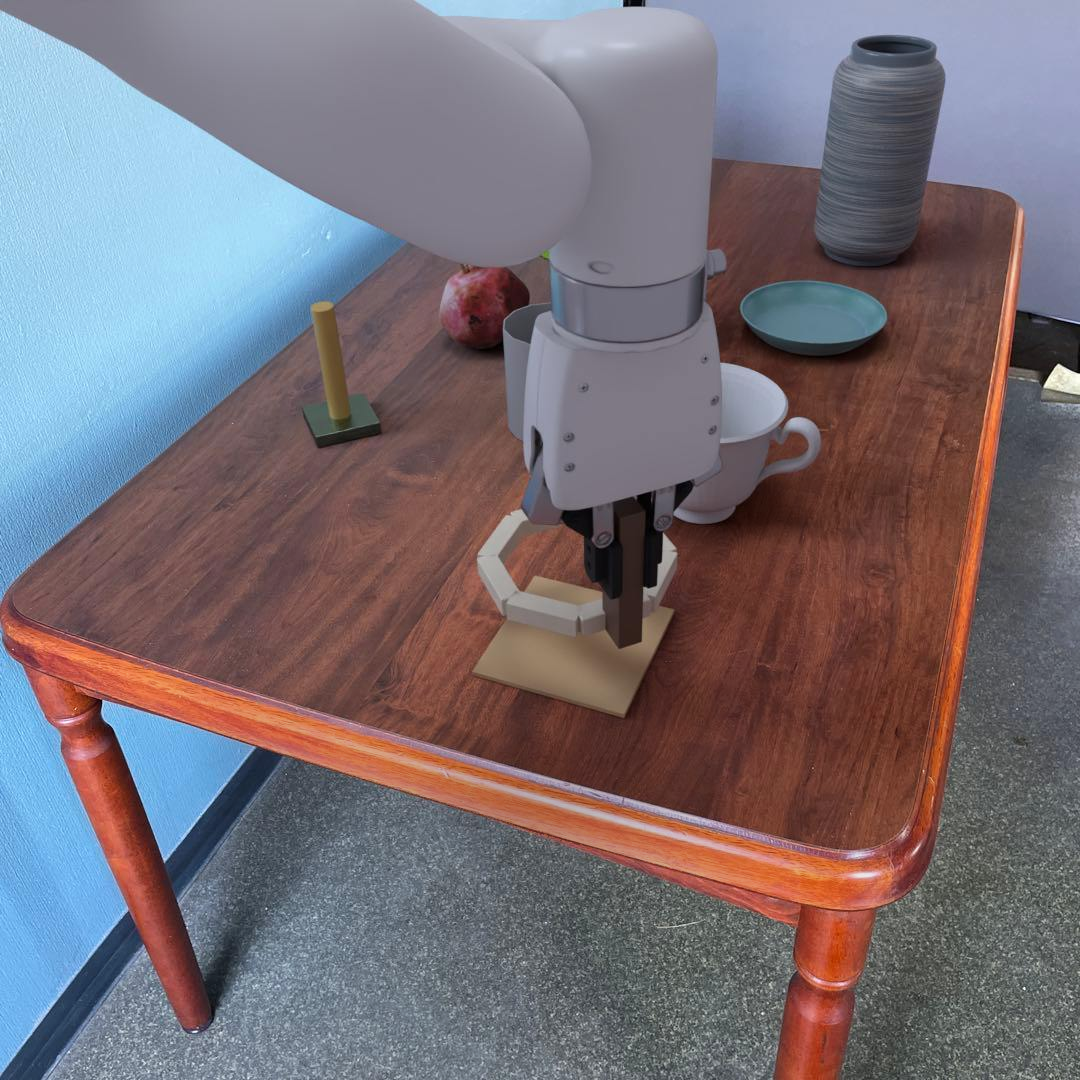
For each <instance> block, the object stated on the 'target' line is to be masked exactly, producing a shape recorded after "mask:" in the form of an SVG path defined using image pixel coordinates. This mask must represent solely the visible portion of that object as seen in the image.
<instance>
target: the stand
mask: <svg viewBox="0 0 1080 1080" xmlns="http://www.w3.org/2000/svg"><path fill="white" fill-rule="evenodd" d="M310 312H311V318H312V325H313V329H314V335H315V341H316V347H317V352H318V358H319V363H320V370H321V375H322V381H323V386H324V387H323V388H324V393H325V398H326V400H324V401H319V402H314V403H310V404H305V405H302V406H301V410H302V416H303V418H304V421H305V423H306V425H307V427H308V430H309V432H310V434H311V436H312V439H313V441H314V443H315V445H316V447H317V448H318V449H319V448H324V447H328V446H331V445H336V444H340V443H344V442H348V441H353V440H357V439H361V438H367V437H370V436H374V435H379V434H382V425H381V421H380V419H379V418H378V416H377V414H376V412H375V410H374V409H373V407H372V405H371V404H370V401H369V400H368V398H367V396H366V395H365V393H364V392H360V393H359V392H358V393H355V394H351V395H349V391H348V385H347V378H346V372H345V371H346V370H345V366H344V359H343V354H342V353H343V352H342V348H341V343H340V342H341V341H340V334H339V328H338V322H337V315H336V310H335V304H334V303H333V302H331V301H328V300H327V301H326V300H325V301H318V302H314V303H313V304H311V306H310Z"/></svg>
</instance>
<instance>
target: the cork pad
mask: <svg viewBox="0 0 1080 1080" xmlns="http://www.w3.org/2000/svg"><path fill="white" fill-rule="evenodd" d="M523 592H525V593H529V594H533V595H537V596H541V597H545V598H549V599H554V600H558V601H562V602H566V603H570V604H574V605H578V606H580V605H584V604H587V603H590V602H594V601H597V600H600V599H602V591H600V590H597V589H593V588H589V587H584V586H580V585H577V584H572V583H568V582H564V581H559V580H556V579H551V578H547V577H543V576H539V575H533V578H532V579H531V581H529V584H528V585H527V587H526V588H525V589H524V591H523ZM675 611H676V610H675V609H674V608H670V607H666V606H662V605H659V606H658V608H657V610H656V612H655V613H653V612H650V616H648V617H645V618H643V620H642V642H640V643H637V644H634V645H631V646H628V647H625V648H621V649H618V647H617V646H616V644H615V643H614V642H613V640H612V639H611V637H610V636H609V634H608V633H607V631H606V630H603V631H600V632H597V633H594V634H591V635H587V636H584V637H583V636H582V635H581V633H580V632H579V633H578V635H577V637H573V636H569V635H565V634H561V633H557V632H553V631H549V630H545V629H542V628H538V627H534V626H530V625H526V624H522V623H518V622H514V621H511V620H507V618H506V619H505V621H504V622H503V624H502V625H501V626H500V628H499V630H498V631H497V632H496V634H495V635H494V637H493V639H492V640H491V642H490V643H489V645H488V646H487V648H486V649H485V650H484V652H483V654H482V655H481V657H480V658H479V660H478V661H477V662H476V665H475V666H474V667H473V669H472V671H471V675H472V676H474V677H476V678H481V679H484V680H488V681H490V682H493V683H494V682H495V683H498V684H501V685H505V686H509V687H512V688H515V689H519V690H522V691H527V692H530V693H532V694H536V695H541V696H544V697H548V698H551V699H555V700H559V701H562V702H564V703H568V704H572V705H577V706H580V707H583V708H586V709H590V710H593V711H597V712H601V713H604V714H608V715H611V716H615V717H619V718H621V719H625V718H626V716H627V713H628V712H629V709H630V707H631V706H632V703H633V701H634V699H635V697H636V694H637V693H638V690H639V689H640V686H641V685H642V683H643V680H644V677H645V676H646V674H647V672H648V670H649V668H650V665H651V664H652V661H653V659H654V657H655V655H656V653H657V651H658V649H659V647H660V645H661V642H662V641H663V639H664V637H665V634H666V632H667V630H668V627H669V625H670V623H671V622H672V619H673V617H674V615H675Z"/></svg>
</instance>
